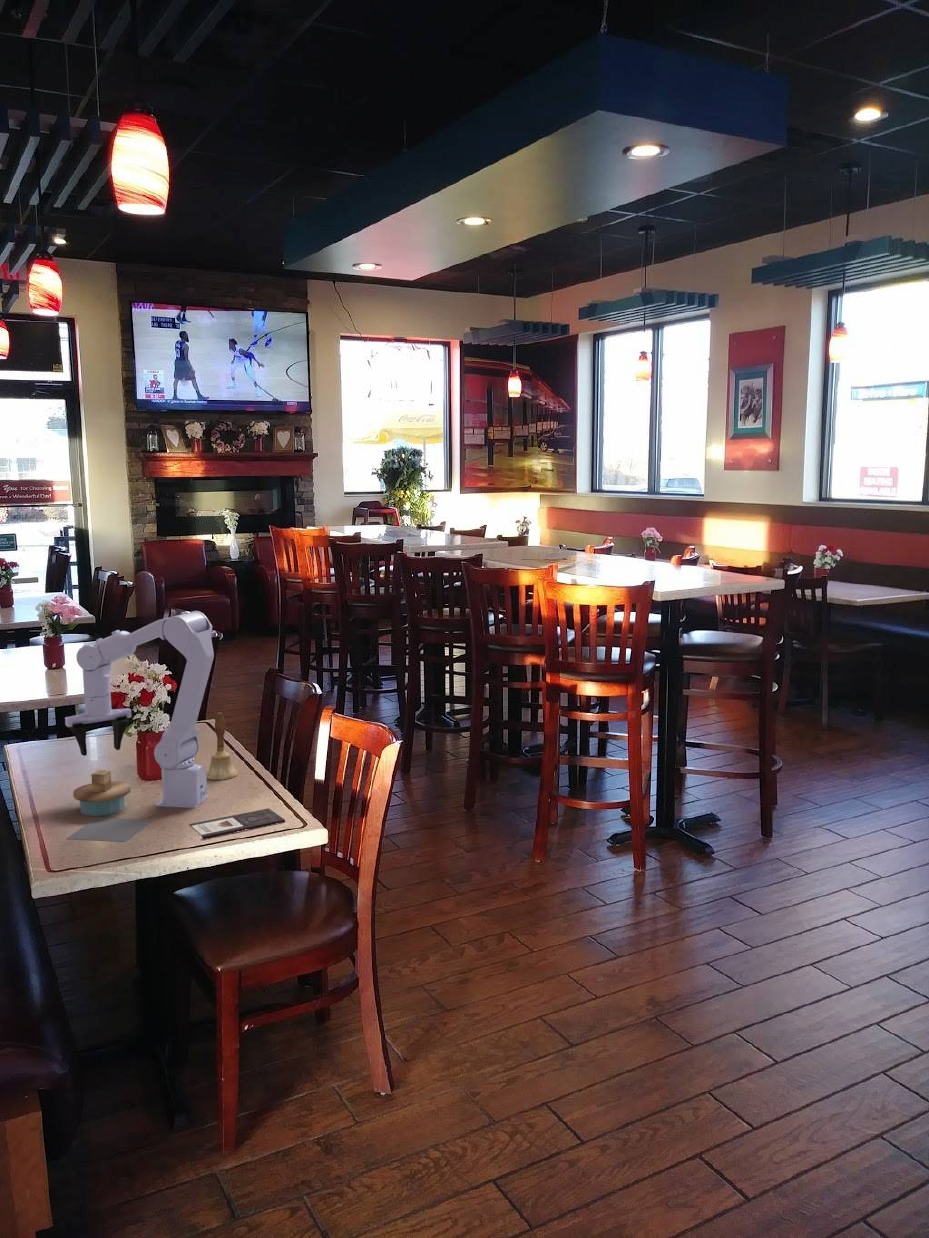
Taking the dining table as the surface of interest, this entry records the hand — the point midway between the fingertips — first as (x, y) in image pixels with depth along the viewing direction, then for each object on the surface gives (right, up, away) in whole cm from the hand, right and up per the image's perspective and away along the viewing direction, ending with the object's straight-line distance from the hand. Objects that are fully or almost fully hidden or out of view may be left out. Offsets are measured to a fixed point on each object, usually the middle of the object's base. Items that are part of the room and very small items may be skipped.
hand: (100, 751), depth 228 cm
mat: (+10, -14, -22) cm, 28 cm away
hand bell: (+24, -8, +17) cm, 30 cm away
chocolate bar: (+36, -14, -18) cm, 42 cm away
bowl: (+4, -12, -9) cm, 15 cm away
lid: (+4, -8, -10) cm, 13 cm away
